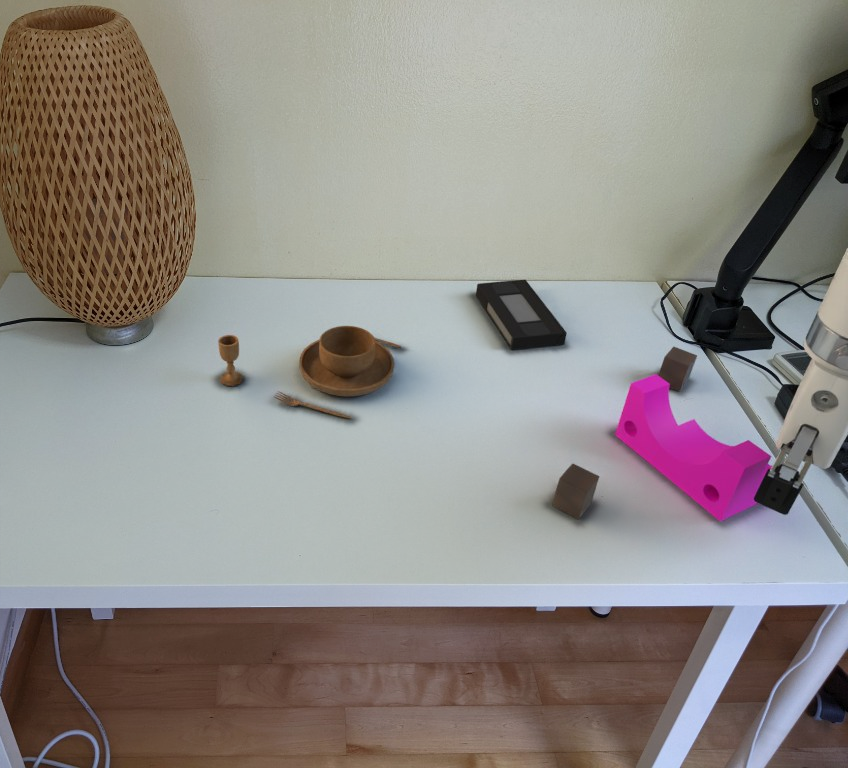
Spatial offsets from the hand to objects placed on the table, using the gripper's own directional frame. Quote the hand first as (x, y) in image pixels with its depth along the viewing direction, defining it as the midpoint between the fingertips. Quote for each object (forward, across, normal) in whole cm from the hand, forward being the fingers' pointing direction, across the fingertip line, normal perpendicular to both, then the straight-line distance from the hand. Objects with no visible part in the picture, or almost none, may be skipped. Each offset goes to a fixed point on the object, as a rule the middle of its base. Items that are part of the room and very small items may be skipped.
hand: (784, 480), depth 79 cm
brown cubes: (+3, 0, +16) cm, 16 cm away
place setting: (+4, -13, +52) cm, 54 cm away
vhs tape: (+4, +14, +38) cm, 41 cm away
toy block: (+4, 0, +9) cm, 10 cm away
